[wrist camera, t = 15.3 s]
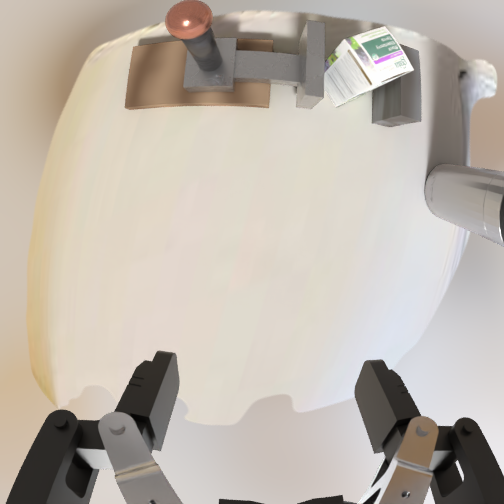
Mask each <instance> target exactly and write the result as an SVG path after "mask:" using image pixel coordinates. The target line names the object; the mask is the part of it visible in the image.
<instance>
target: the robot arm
mask: <svg viewBox="0 0 504 504" xmlns="http://www.w3.org/2000/svg"><path fill="white" fill-rule="evenodd" d="M425 197H426V202H427V205H428V207H429V209H430V211H431V212H432V213H433V214H434V215H435V216H436V217H439V218H441V219H443V220H446V221H448V222H450V223H453V224H455V225H457V226H460V227H462V228H464V229H467V230H469V231H471V232H473V233H476V234H478V235H480V236H482V237H484V238H486V239H489V240H491V241H493V242H495V243H497V244H499V245H501V246H503V247H504V172H502V171H496V170H489V169H483V168H475V167H468V166H461V165H452V164H440V165H438V166H436V167H435V168H434V169H433V170H432V171H431V172H430V174H429V176H428V178H427V181H426V186H425ZM404 385H405V384H404V383H403V381H402V379H401V377H400V376H399V375H398V374H397V373H395V372H394V371H393V370H388V368H387V366H386V364H385V362H384V361H383V360H367V361H365V362H364V364H363V367H362V370H361V372H360V375H359V378H358V380H357V383H356V385H355V398H356V401H357V404H358V407H359V410H360V413H361V415H362V418H363V421H364V424H365V427H366V430H367V433H368V436H369V439H370V442H371V445H372V448H373V451H374V453H380V452H384V454H385V457H384V458H383V460H382V462H381V464H380V466H379V468H378V470H377V472H376V474H375V476H374V478H373V480H372V482H371V484H370V485H369V488H368V489H367V491H366V492H365V494H364V495H363V496H362V498H361V499H360V500H359V502H358V503H353V502H347V501H343V496H342V495H340V496H333V497H325V498H316V499H312V500H308V501H305V502H301V503H298V504H423V503H424V500H425V497H426V494H427V492H428V488H429V486H430V488H431V491H432V494H433V497H434V501H435V504H504V476H503V474H502V471H501V469H500V467H499V465H498V463H497V461H496V459H495V456H494V454H493V453H492V450H491V448H490V446H489V445H488V443H487V440H486V439H485V437H484V435H483V433H482V431H481V429H480V427H479V426H478V424H477V423H476V422H475V421H474V420H472V419H470V418H461V419H459V420H457V422H456V423H455V424H454V425H453V426H437V424H436V423H435V422H434V421H433V420H432V419H430V418H428V417H425V416H421V414H420V412H419V410H418V409H417V406H416V405H415V403H414V401H413V399H412V397H411V395H410V393H408V390H407V388H406V386H404ZM178 390H179V373H178V365H177V357H176V354H175V353H172V352H165V351H157V352H156V354H155V357H154V359H153V361H146V360H145V361H144V362H142V363H141V364H140V365H139V366H138V367H136V369H135V371H134V373H133V375H132V378H131V379H130V381H129V385H127V387H126V389H125V391H124V393H123V395H122V397H121V399H120V401H119V403H118V405H117V408H116V409H115V411H114V412H112V413H109V414H106V415H105V416H103V417H102V418H101V420H97V421H92V420H77V418H76V416H75V415H74V414H73V413H72V412H70V411H67V410H56V411H54V412H52V413H51V414H49V416H48V417H47V418H46V420H45V422H44V424H43V426H42V427H41V429H40V431H39V433H38V435H37V437H36V439H35V441H34V443H33V445H32V446H31V449H30V450H29V452H28V454H27V456H26V459H25V461H24V463H23V465H22V467H21V469H20V471H19V473H18V476H17V478H16V480H15V482H14V485H13V487H12V489H11V492H10V494H9V497H8V499H7V502H6V504H89V502H90V498H91V495H92V492H93V488H94V485H95V482H96V479H97V475H98V472H99V469H114V472H115V479H116V482H117V484H118V486H119V488H120V490H121V492H122V495H123V497H124V499H125V501H126V502H127V504H182V502H181V500H180V499H179V497H178V496H177V494H176V493H175V491H174V490H173V488H172V487H171V485H170V484H169V482H168V480H167V479H166V477H165V476H164V474H163V472H162V471H161V469H160V467H159V466H158V464H157V463H156V462H155V460H154V459H153V457H152V455H151V453H152V450H158V451H161V448H162V445H163V442H164V438H165V435H166V431H167V428H168V424H169V421H170V417H171V414H172V411H173V407H174V404H175V401H176V397H177V394H178ZM457 460H458V461H459V464H460V466H461V469H462V471H463V474H464V481H462V478H461V476H460V473H459V471H458V468H457V466H456V463H455V462H456V461H457ZM219 504H262V503H258V502H254V501H243V500H242V501H241V500H227V499H219Z"/></svg>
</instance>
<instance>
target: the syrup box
mask: <svg viewBox="0 0 504 504" xmlns="http://www.w3.org/2000/svg"><path fill="white" fill-rule="evenodd" d="M413 70H414V69H413V67H412V65H411V63H410V62H409V60H408V58H407V56H406V54H405V53H404V51H403V50H402V48H401V46H400V45H399V44H398V42H397V41H396V39H395V38H394V37H393V35H392V34H391V33H390V32H389V30H388V29H387V28H386V27H385V26H383V27H380V28H376V29H373V30H369V31H366V32H363V33H360V34H357V35H354V36H352V37H349V38H346V39H344V40H343V41H342V42H341V43H340V44H339V45H338V47H337V48H336V49H335V50H334V51H333V53H332V54H331V55H330V56H329V58H328V59H327V60H326V61H325V68H324V90H325V92H326V93H327V95H328V96H329V98H330V99H331V101H332V102H333V104H334V105H335V107H339V106H341V105H343V104H345V103H347V102H349V101H351V100H353V99H355V98H357V97H359V96H361V95H363V94H365V93H368V92H370V91H372V90H374V89H376V88H378V87H380V86H382V85H384V84H386V83H388V82H390V81H392V80H394V79H396V78H398V77H400V76H402V75H404V74H406V73H409V72H411V71H413Z"/></svg>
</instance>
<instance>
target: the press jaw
mask: <svg viewBox="0 0 504 504" xmlns="http://www.w3.org/2000/svg"><path fill="white" fill-rule="evenodd" d="M212 20H213V15H212V11H211V10H210V8H209V7H208V6H207V5H206V4H205V3H203V2H201V1H198V0H184V1H181V2H179V3H177V4H176V5H174V6H173V7H172V8H171V9H170V10H169V11H168V13H167V15H166V19H165V24H166V28H167V30H168V31H169V33H170V34H171V35H173V36H174V37H176V38H179V39H181V40H182V42H183V43H184V45H185V46H186V48H187V49H188V50H187V58H186V66H185V75H184V84H183V87H184V88H185V89H186V90H187V91H188V92H234V90H235V82H253V83H268V84H280V85H290V86H297V98H296V107H299V108H307V109H312V108H313V107H314V106H315V105H316V104H317V103H318V102H319V101H321V100H322V99H323V98H324V68H325V23H322V22H316V21H310V20H307V22H306V25H305V27H304V30H303V33H302V35H301V38H300V41H299V54H298V55H295V54H286V53H275V52H262V51H239V50H238V43H237V38H215V37H214V34H213V31H212V29H211V24H212Z"/></svg>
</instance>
